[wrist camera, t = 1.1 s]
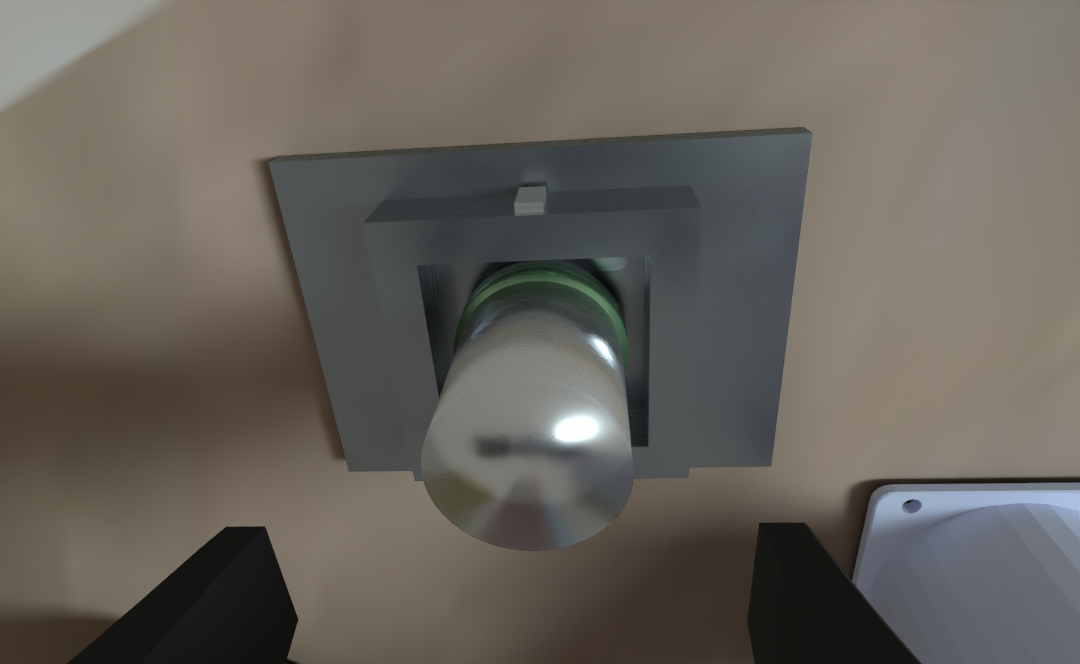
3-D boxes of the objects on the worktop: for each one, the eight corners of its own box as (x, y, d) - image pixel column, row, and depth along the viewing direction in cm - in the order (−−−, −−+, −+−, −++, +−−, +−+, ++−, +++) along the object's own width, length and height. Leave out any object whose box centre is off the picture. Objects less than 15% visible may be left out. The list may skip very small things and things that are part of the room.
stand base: (803, 127, 14) (837, 150, 13) (765, 452, 19) (786, 507, 17) (279, 156, 16) (235, 181, 14) (355, 458, 20) (329, 510, 18)
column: (625, 249, 15) (642, 373, 11) (626, 395, 17) (641, 556, 13) (452, 256, 16) (394, 379, 11) (472, 398, 18) (430, 556, 13)
